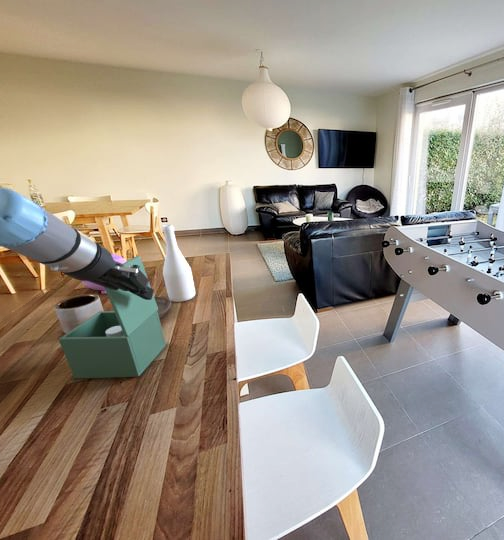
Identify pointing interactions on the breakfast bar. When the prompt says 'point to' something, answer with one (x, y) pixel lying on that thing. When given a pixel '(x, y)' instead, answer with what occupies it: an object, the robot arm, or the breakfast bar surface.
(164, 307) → the plant saucer
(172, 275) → the wine bottle
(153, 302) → the lid
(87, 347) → the green open box
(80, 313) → the planter
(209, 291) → the breakfast bar surface
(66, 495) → the breakfast bar surface
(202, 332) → the breakfast bar surface
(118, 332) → the supplement bottle
